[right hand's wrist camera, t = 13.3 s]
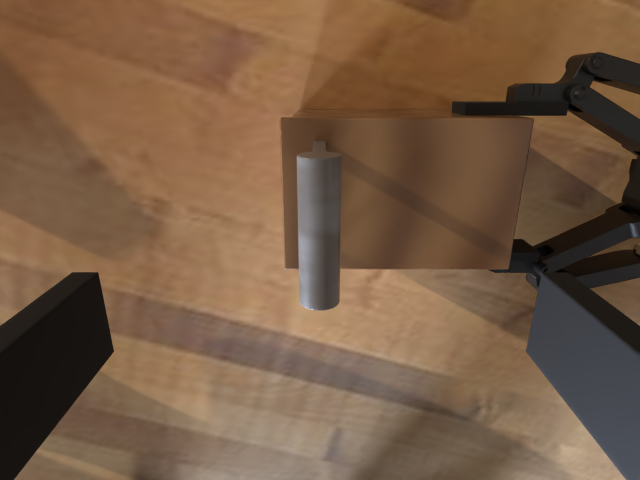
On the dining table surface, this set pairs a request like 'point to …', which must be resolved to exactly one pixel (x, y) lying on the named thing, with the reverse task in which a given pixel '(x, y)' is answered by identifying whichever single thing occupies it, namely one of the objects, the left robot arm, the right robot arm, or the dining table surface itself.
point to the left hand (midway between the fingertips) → (450, 183)
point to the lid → (398, 195)
